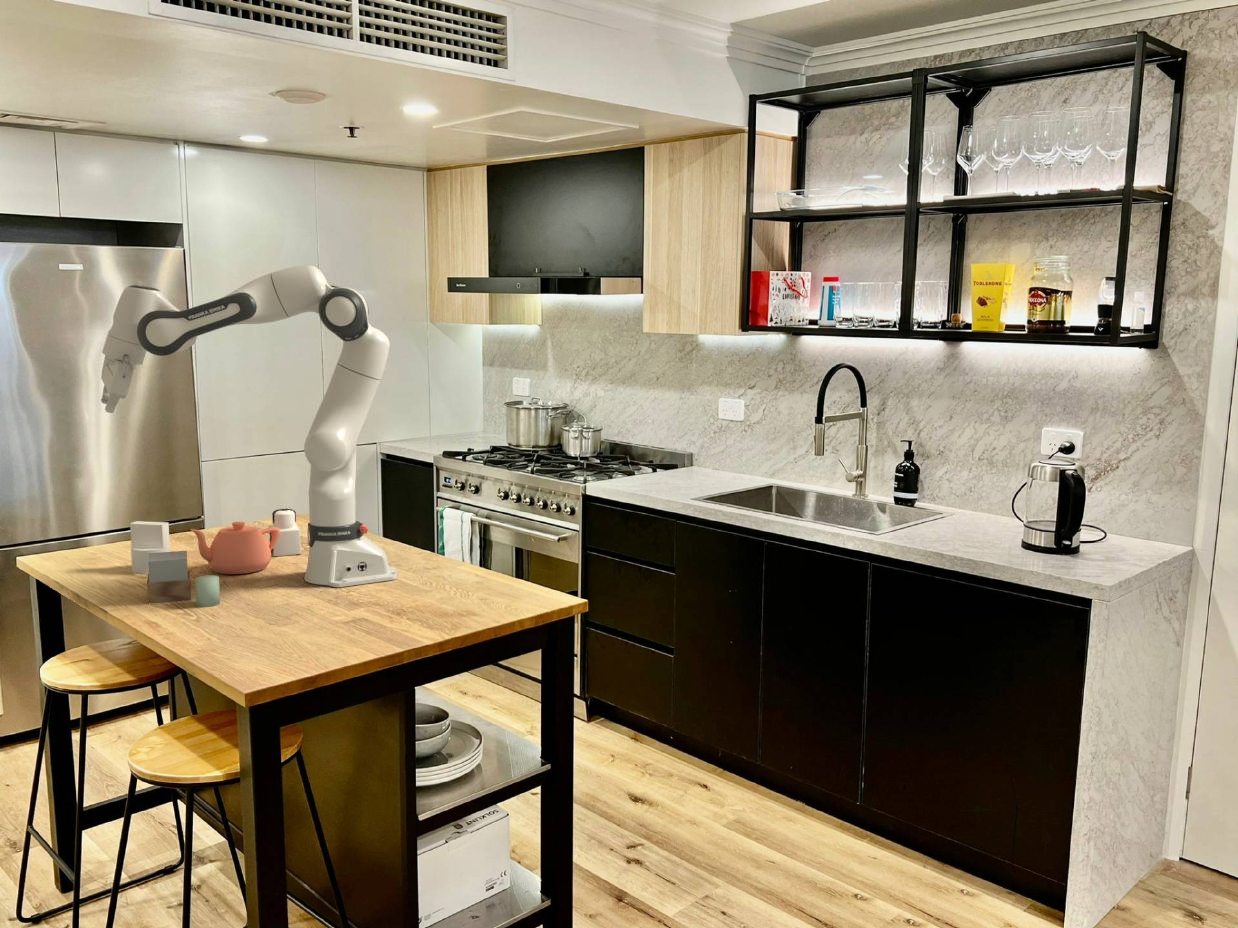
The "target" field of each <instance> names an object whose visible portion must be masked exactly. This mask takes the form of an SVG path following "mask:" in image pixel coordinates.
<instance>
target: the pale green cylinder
mask: <svg viewBox="0 0 1238 928" xmlns="http://www.w3.org/2000/svg"><path fill="white" fill-rule="evenodd" d="M194 580H195V581H194V585H195V605H196V606H197V607H200V608H210V607H216V606H218V605H220V604H221V595H220V577H219V576H218V575H212V574H211V575H209V574H207V575H206V574H205V575H199V576H198V577H195V579H194Z"/></svg>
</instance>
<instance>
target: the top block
mask: <svg viewBox="0 0 1238 928" xmlns="http://www.w3.org/2000/svg"><path fill="white" fill-rule="evenodd" d="M148 566H149V583H156V582H169V581H182V580H188V571H189V570H188V551H187V550H177V551H170V552H160V553H149V560H148Z"/></svg>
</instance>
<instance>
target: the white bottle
mask: <svg viewBox="0 0 1238 928" xmlns="http://www.w3.org/2000/svg"><path fill="white" fill-rule="evenodd" d="M271 515H272V525H270V526H269V527H268V528H271V527H277V528H279V530H280V535H279V538H278V540H277V542H276V544H275V545H274V547H273V549H272V550H271V556H272V557H274V556H278V557H288V556H287V555H290V556H297V555H296V554H300V555H301V554H302V553H301V529H300V527H298V525H297V517H296V516H297V513H296V511H295V510H294V509H291V508H280V509H275V510H274V511H273V512H272V513H271ZM271 539H272V533H271V532H269V543H270V542H271Z"/></svg>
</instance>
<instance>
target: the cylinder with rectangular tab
mask: <svg viewBox="0 0 1238 928" xmlns="http://www.w3.org/2000/svg"><path fill="white" fill-rule="evenodd" d="M169 526H170V523H169V522H164V521H163V522H162V521H160V522H159V521H143V520H141V521H139V520H136V521H133V522H130V523H129V527H130V528H129V529H130V544H131V545H130V546H131V547H130V556H131V571H132V573H133V574H138V575H148V574H149V566H148V560H149V553H160V552H171V544H170V527H169Z"/></svg>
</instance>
